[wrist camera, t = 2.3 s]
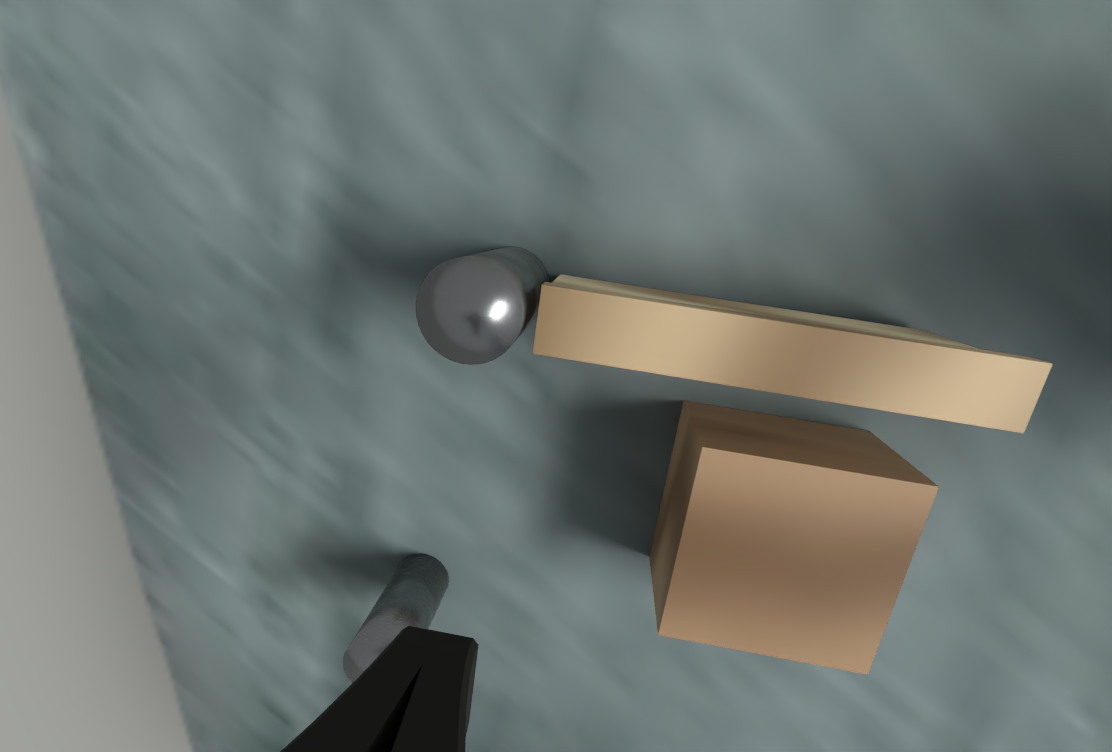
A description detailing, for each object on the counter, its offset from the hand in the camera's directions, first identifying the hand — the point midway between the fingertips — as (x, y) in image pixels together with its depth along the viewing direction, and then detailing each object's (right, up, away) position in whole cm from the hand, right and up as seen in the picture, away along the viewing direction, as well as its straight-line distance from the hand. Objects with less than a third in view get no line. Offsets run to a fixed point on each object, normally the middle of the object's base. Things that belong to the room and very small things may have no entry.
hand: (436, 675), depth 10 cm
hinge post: (+1, +8, +7) cm, 11 cm away
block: (+9, +1, +9) cm, 13 cm away
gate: (+8, +7, +7) cm, 12 cm away
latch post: (-3, -2, +11) cm, 11 cm away
